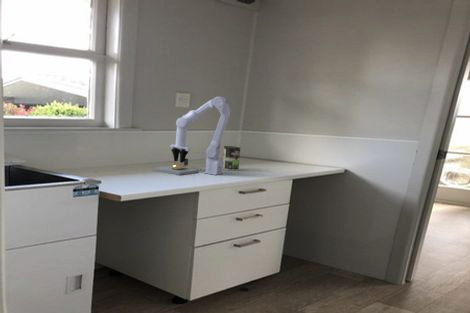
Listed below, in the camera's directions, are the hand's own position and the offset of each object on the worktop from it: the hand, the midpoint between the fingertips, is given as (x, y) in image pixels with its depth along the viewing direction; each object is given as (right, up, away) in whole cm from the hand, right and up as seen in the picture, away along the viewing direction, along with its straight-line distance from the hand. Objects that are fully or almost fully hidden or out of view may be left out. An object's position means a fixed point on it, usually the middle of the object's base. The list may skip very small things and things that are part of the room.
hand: (178, 161), depth 268 cm
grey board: (-1, -5, -6) cm, 8 cm away
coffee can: (+30, -5, +19) cm, 36 cm away
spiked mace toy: (+1, -4, -4) cm, 6 cm away
